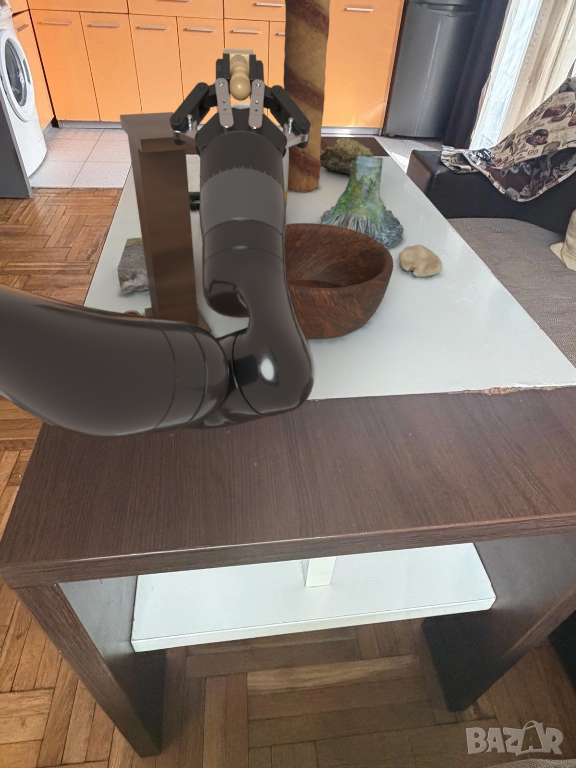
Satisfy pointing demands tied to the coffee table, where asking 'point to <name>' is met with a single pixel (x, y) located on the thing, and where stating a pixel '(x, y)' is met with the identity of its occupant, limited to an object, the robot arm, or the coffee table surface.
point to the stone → (420, 261)
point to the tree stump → (365, 205)
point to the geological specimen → (133, 267)
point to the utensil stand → (164, 216)
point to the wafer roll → (306, 83)
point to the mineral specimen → (343, 155)
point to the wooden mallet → (239, 72)
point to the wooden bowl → (334, 277)
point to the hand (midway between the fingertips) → (239, 62)
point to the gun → (194, 197)
